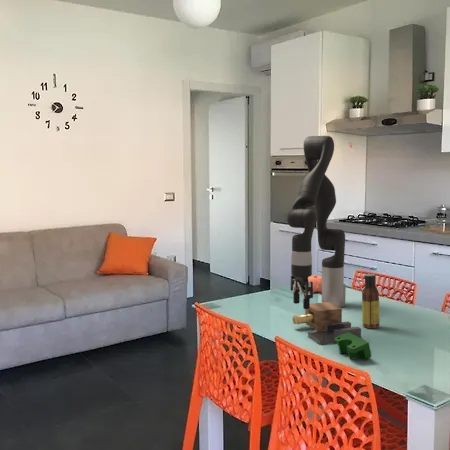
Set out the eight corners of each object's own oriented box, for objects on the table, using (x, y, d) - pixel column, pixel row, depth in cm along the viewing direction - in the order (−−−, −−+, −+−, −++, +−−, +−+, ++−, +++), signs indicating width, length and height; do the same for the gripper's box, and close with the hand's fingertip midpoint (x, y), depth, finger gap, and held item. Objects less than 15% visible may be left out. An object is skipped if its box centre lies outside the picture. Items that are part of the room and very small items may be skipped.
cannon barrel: (330, 317, 199) (331, 310, 198) (334, 321, 196) (335, 313, 195) (292, 321, 195) (292, 314, 194) (295, 325, 192) (296, 317, 191)
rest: (347, 331, 189) (348, 321, 189) (361, 339, 181) (361, 328, 180) (307, 336, 185) (307, 325, 184) (319, 345, 176) (319, 333, 176)
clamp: (341, 365, 170) (330, 338, 171) (356, 358, 172) (345, 332, 173) (358, 364, 158) (346, 335, 160) (374, 356, 160) (362, 328, 162)
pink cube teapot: (317, 288, 256) (317, 271, 255) (327, 294, 245) (327, 276, 244) (302, 289, 255) (302, 272, 254) (311, 295, 243) (311, 277, 242)
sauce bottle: (380, 325, 197) (380, 273, 194) (379, 330, 191) (380, 276, 189) (362, 323, 199) (362, 272, 197) (360, 328, 193) (361, 275, 191)
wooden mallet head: (328, 320, 203) (328, 301, 202) (341, 328, 194) (341, 308, 193) (305, 323, 200) (305, 304, 199) (317, 331, 191) (317, 311, 190)
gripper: (319, 265, 186) (319, 310, 187) (302, 259, 199) (302, 300, 201) (300, 266, 184) (300, 311, 185) (284, 260, 197) (284, 302, 199)
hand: (301, 306), depth 193 cm, fingers open, 8 cm apart
